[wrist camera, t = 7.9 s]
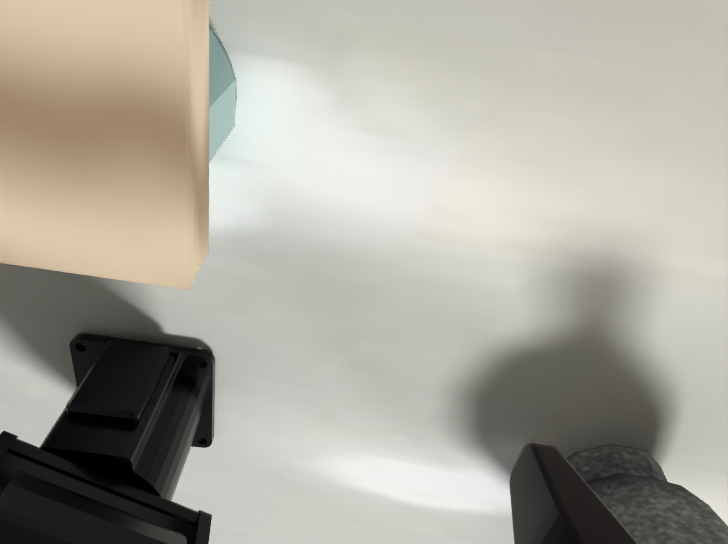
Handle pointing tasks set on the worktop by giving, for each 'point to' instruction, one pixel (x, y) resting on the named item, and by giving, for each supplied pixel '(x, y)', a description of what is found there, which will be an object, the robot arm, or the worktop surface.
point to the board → (105, 137)
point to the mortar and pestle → (647, 498)
